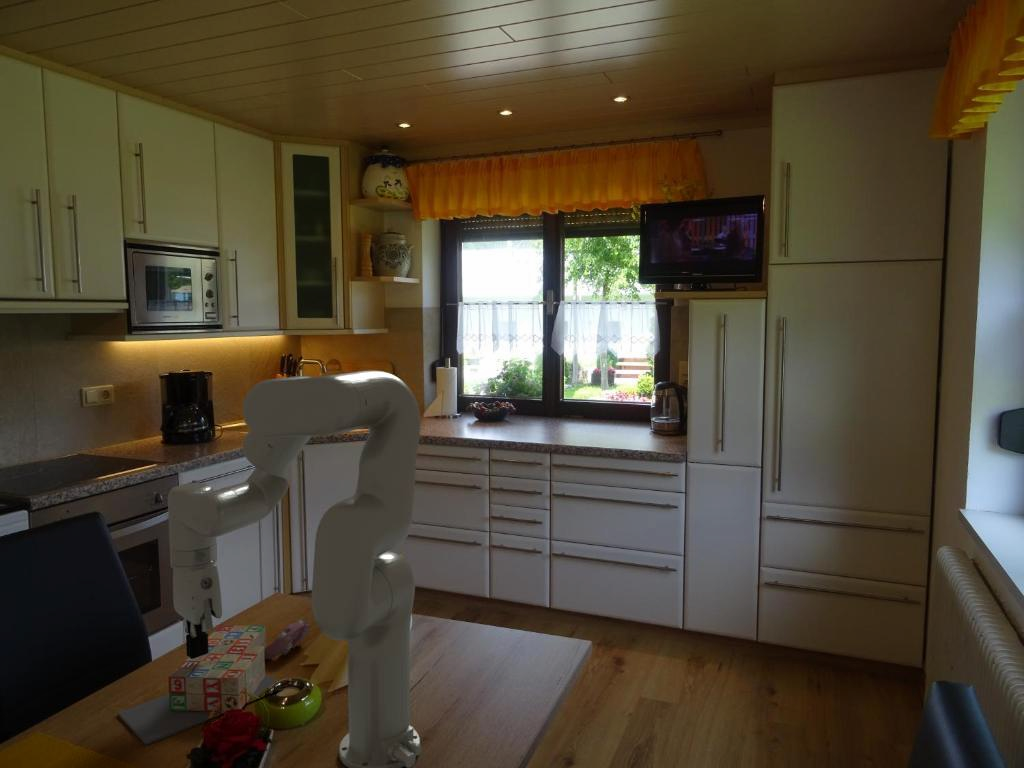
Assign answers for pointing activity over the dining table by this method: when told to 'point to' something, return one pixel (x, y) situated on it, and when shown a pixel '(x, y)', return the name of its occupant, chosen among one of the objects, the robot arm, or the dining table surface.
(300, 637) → the purple toy animal
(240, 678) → the stack of blocks
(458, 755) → the dining table surface
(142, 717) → the mat
